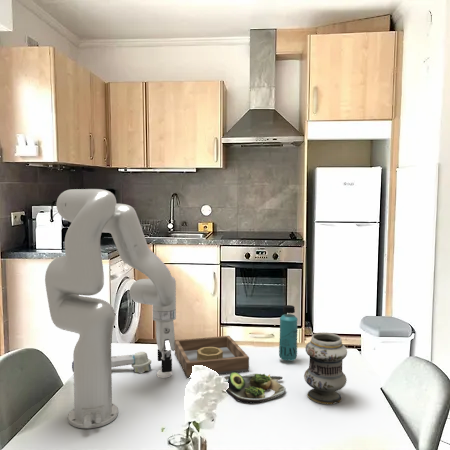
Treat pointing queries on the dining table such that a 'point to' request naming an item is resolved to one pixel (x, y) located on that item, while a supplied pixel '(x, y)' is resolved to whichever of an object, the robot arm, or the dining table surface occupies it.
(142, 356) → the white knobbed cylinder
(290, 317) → the beverage bottle
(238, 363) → the socket box
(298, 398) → the dining table surface
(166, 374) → the chess piece
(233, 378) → the avocado toast plate
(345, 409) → the dining table surface
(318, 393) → the apothecary jar
